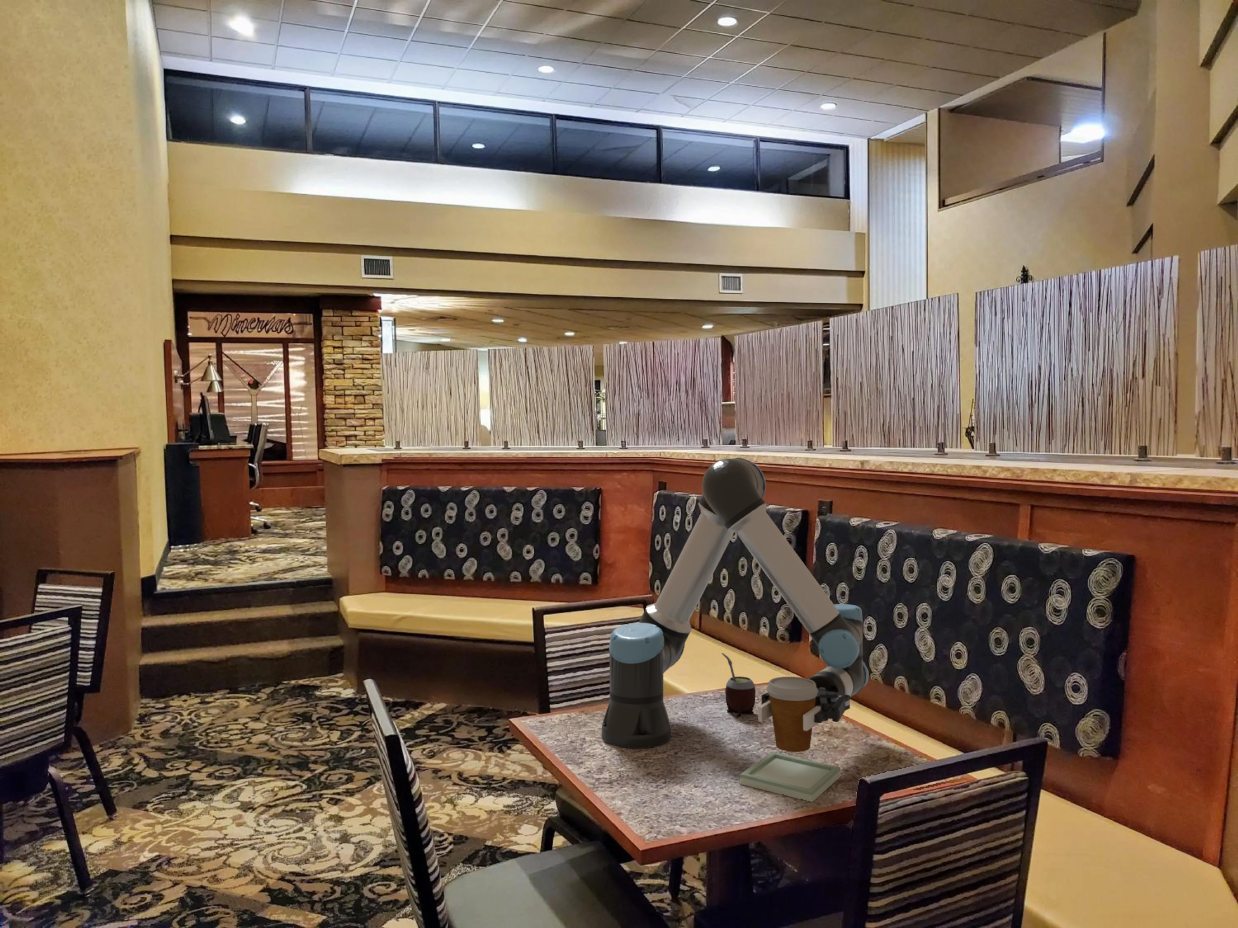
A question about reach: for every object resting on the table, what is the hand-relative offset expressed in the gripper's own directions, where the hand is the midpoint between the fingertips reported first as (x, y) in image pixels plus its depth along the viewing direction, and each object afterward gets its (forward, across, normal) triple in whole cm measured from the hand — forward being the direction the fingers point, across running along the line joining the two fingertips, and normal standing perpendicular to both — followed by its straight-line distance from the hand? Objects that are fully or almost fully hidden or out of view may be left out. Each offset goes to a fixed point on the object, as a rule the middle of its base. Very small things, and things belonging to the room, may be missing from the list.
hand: (782, 718), depth 150 cm
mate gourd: (-35, +26, -13) cm, 45 cm away
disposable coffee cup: (-5, 0, -7) cm, 8 cm away
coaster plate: (-5, 0, -13) cm, 14 cm away
